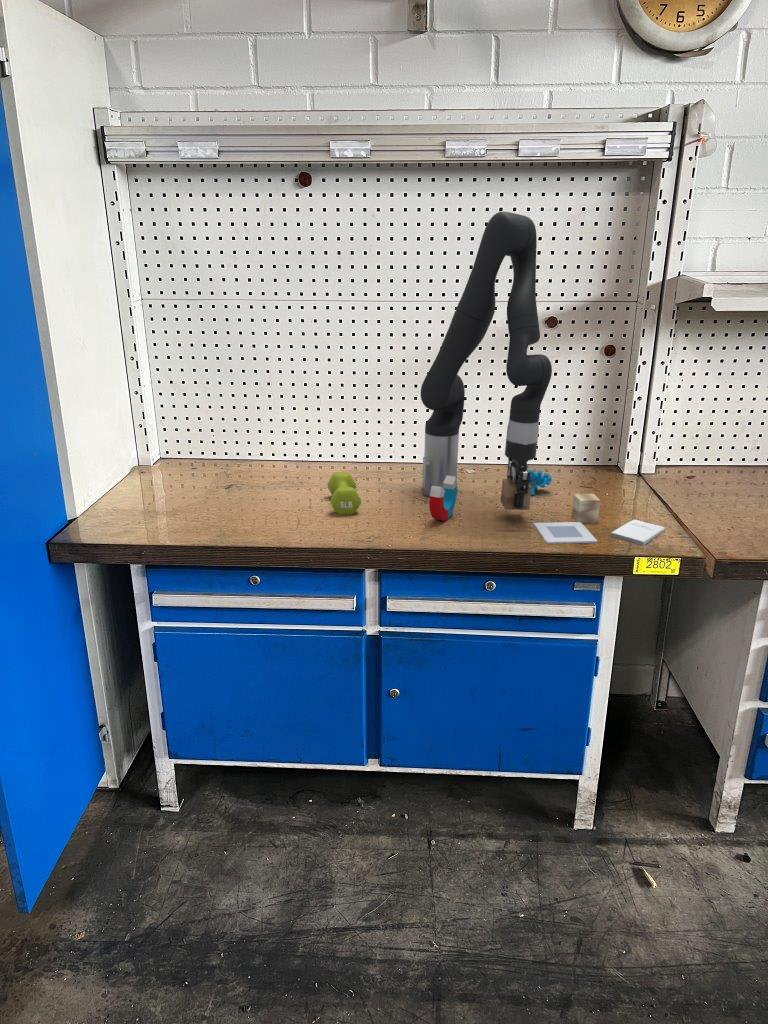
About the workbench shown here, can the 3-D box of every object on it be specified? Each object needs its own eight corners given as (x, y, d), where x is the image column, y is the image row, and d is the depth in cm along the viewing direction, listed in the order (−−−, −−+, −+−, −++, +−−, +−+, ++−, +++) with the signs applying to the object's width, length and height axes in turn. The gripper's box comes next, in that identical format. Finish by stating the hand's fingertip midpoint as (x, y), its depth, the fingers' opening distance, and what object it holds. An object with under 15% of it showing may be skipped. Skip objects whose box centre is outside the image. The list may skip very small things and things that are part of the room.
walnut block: (505, 509, 172) (507, 486, 170) (500, 500, 177) (502, 478, 175) (529, 509, 172) (531, 487, 170) (523, 501, 178) (526, 479, 175)
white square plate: (546, 543, 161) (547, 541, 161) (533, 524, 172) (533, 522, 172) (597, 542, 162) (597, 541, 162) (580, 523, 173) (580, 522, 173)
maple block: (577, 523, 174) (580, 500, 172) (571, 515, 178) (574, 494, 176) (597, 522, 174) (600, 500, 172) (590, 515, 179) (593, 493, 177)
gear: (553, 483, 197) (549, 466, 189) (552, 502, 195) (548, 486, 186) (514, 484, 201) (509, 468, 193) (513, 503, 199) (507, 487, 190)
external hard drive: (609, 538, 166) (632, 524, 175) (642, 548, 161) (664, 533, 169) (610, 532, 165) (633, 518, 174) (643, 541, 160) (665, 526, 169)
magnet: (446, 510, 181) (448, 474, 178) (456, 512, 180) (458, 475, 177) (428, 525, 172) (429, 487, 168) (438, 527, 170) (439, 488, 167)
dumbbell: (327, 496, 192) (326, 471, 189) (356, 495, 193) (355, 470, 190) (330, 517, 176) (330, 490, 174) (361, 516, 177) (361, 489, 175)
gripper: (500, 430, 175) (494, 492, 181) (513, 446, 161) (506, 513, 168) (530, 430, 175) (523, 493, 181) (544, 446, 162) (536, 513, 168)
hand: (515, 502), depth 174 cm, fingers closed on walnut block, 6 cm apart
